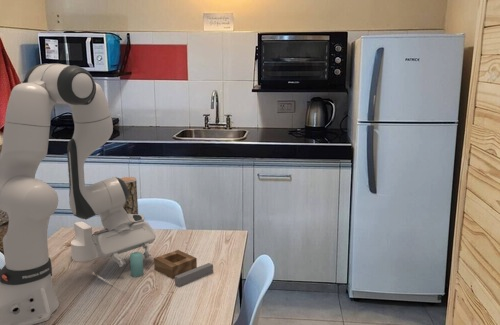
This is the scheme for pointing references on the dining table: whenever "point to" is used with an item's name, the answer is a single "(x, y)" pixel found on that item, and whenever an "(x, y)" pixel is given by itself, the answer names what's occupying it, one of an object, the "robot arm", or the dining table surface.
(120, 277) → the dining table surface
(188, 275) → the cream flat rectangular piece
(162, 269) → the socket block
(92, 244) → the base with upright slab
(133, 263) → the teal rounded peg
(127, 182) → the wooden log cylinder
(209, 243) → the dining table surface
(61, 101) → the robot arm
